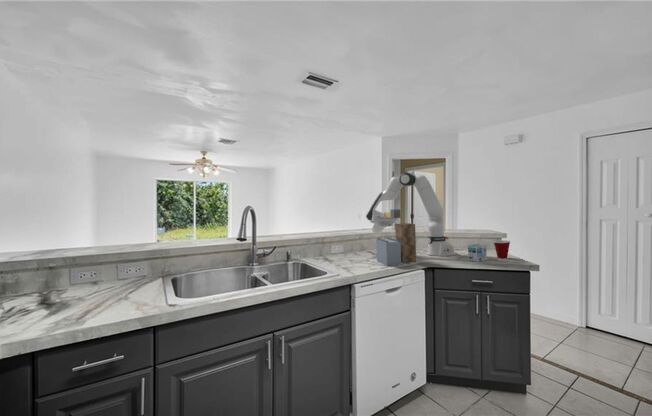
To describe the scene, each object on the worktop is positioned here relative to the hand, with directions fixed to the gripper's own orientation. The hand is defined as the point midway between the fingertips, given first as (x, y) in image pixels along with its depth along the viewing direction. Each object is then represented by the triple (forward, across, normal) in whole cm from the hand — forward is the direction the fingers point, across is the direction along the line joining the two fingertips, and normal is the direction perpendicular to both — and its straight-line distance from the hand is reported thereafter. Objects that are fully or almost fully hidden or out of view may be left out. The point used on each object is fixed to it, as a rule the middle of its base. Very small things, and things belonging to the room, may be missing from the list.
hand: (387, 214), depth 219 cm
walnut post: (+3, +3, +39) cm, 40 cm away
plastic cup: (+13, +70, +45) cm, 84 cm away
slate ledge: (+3, -10, +39) cm, 41 cm away
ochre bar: (+5, 0, +6) cm, 8 cm away
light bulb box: (+15, +49, +46) cm, 69 cm away
